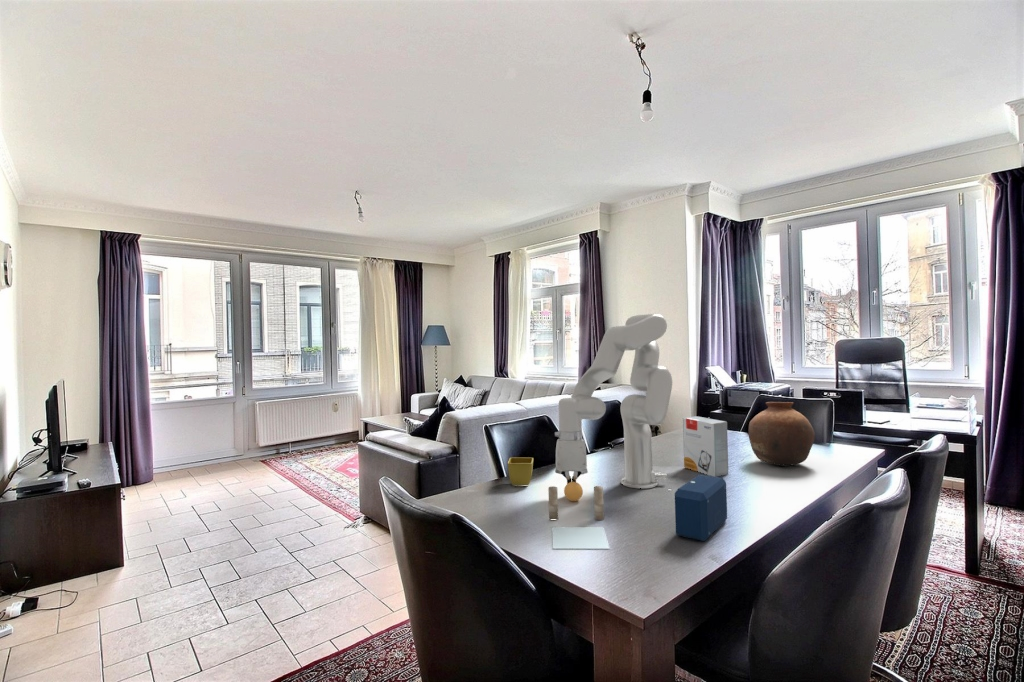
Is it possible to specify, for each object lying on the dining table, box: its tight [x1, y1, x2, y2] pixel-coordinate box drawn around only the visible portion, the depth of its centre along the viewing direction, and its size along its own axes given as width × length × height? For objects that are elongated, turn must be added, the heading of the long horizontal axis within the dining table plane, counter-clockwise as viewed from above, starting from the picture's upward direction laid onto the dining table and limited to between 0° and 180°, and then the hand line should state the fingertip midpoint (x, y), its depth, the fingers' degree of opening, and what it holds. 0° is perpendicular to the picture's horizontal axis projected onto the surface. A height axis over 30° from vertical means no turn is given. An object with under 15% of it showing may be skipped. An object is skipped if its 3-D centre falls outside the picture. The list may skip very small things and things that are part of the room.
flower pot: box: [507, 457, 534, 486], centre depth 178 cm, size 9×9×9 cm
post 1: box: [547, 485, 559, 520], centre depth 143 cm, size 3×3×9 cm
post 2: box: [593, 485, 605, 521], centre depth 142 cm, size 3×3×9 cm
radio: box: [674, 451, 728, 542], centre depth 133 cm, size 21×9×20 cm, turn 141°
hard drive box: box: [682, 415, 729, 477], centre depth 189 cm, size 16×8×20 cm, turn 25°
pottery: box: [748, 401, 816, 467], centre depth 195 cm, size 23×23×25 cm
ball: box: [563, 481, 584, 502], centre depth 159 cm, size 6×6×6 cm
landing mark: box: [551, 526, 611, 550], centre depth 129 cm, size 14×14×1 cm
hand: (571, 490), depth 164 cm, fingers closed
